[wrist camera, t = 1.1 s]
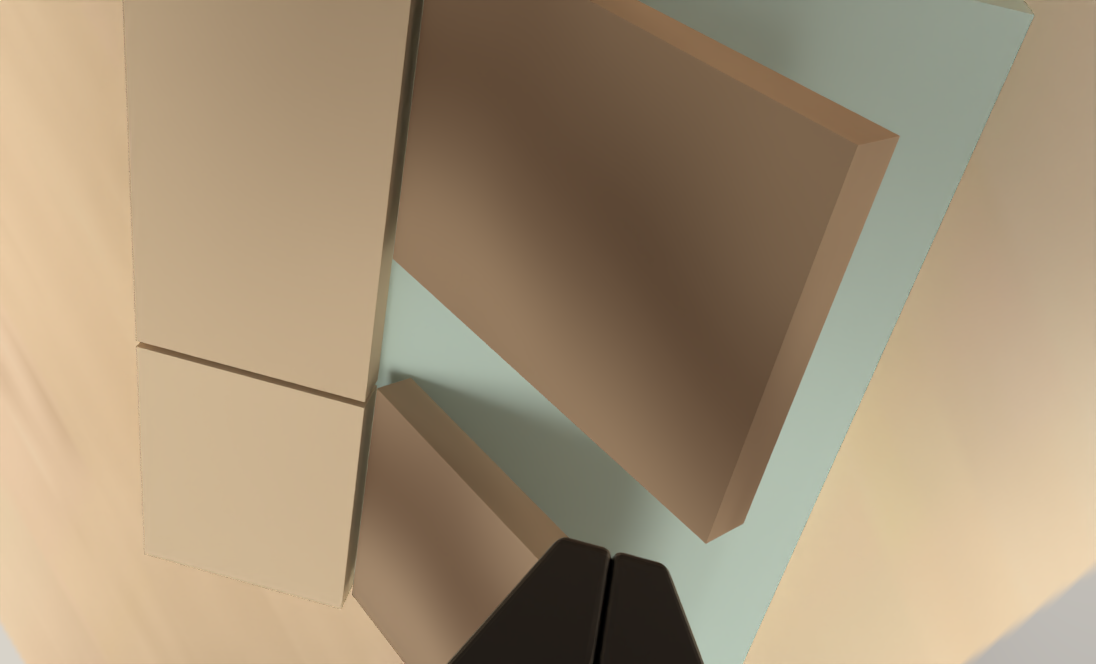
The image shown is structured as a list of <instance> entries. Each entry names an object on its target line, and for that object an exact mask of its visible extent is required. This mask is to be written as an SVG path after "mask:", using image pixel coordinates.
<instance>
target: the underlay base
mask: <svg viewBox="0 0 1096 664" xmlns="http://www.w3.org/2000/svg"><path fill="white" fill-rule="evenodd" d="M638 1H640V2H642V3H644V4H646V5H648V6H650V7H652V8H654V9H656V10H658V11H659V12H661V13H663V14H665V15H667V16H669V17H671V18H673V19H675V20H677V21H679V22H681V23H683V24H685V25H687V26H688V27H690V28H692V29H694V30H696V31H698V32H700V33H702V34H704V35H706V36H708V37H710V38H712V39H714V40H716V41H717V42H719V43H721V44H723V45H725V46H727V47H729V48H731V49H733V50H735V51H737V52H739V53H741V54H743V55H745V56H747V57H748V58H750V59H752V60H754V61H756V62H758V63H760V64H762V65H764V66H766V67H768V68H770V69H772V70H774V71H776V72H777V73H779V74H781V75H783V76H785V77H787V78H789V79H791V80H793V81H795V82H797V83H799V84H801V85H803V86H805V87H806V88H808V89H810V90H812V91H814V92H816V93H818V94H820V95H822V96H824V97H826V98H828V99H830V100H832V101H834V102H835V103H837V104H839V105H841V106H843V107H845V108H847V109H849V110H851V111H853V112H855V113H857V114H859V115H861V116H863V117H864V118H866V119H868V120H870V121H872V122H874V123H876V124H878V125H880V126H882V127H884V128H886V129H888V130H890V131H892V132H893V133H895V134H897V135H899V136H900V138H899V140H898V143H897V145H896V147H895V150H894V152H893V155H892V157H891V160H890V162H889V165H888V167H887V170H886V172H885V175H884V177H883V180H882V182H881V185H880V187H879V190H878V192H877V195H876V197H875V199H874V202H873V204H872V207H871V209H870V212H869V214H868V217H867V219H866V222H865V224H864V227H863V229H862V232H861V234H860V237H859V239H858V242H857V244H856V246H855V249H854V251H853V254H852V256H851V259H850V261H849V264H848V266H847V269H846V271H845V274H844V276H843V279H842V281H841V284H840V286H839V289H838V291H837V294H836V296H835V298H834V301H833V303H832V306H831V308H830V311H829V313H828V316H827V318H826V321H825V323H824V326H823V328H822V331H821V333H820V336H819V338H818V341H817V343H816V346H815V348H814V350H813V353H812V355H811V358H810V360H809V363H808V365H807V368H806V370H805V373H804V375H803V378H802V380H801V383H800V385H799V388H798V390H797V393H796V395H795V398H794V400H793V402H792V405H791V407H790V410H789V412H788V415H787V417H786V420H785V422H784V425H783V427H782V430H781V432H780V435H779V437H778V440H777V442H776V445H775V447H774V449H773V452H772V454H771V457H770V459H769V462H768V464H767V467H766V469H765V472H764V474H763V477H762V479H761V482H760V484H759V487H758V489H757V492H756V494H755V497H754V499H753V501H752V504H751V506H750V509H749V511H748V514H747V516H746V519H745V521H744V524H742V525H740V526H738V527H736V528H734V529H733V530H731V531H729V532H727V533H725V534H723V535H721V536H720V537H718V538H716V539H714V540H712V541H710V542H708V543H707V544H705V543H704V542H703V541H702V540H701V539H700V538H699V537H698V536H697V535H696V534H695V533H693V532H692V531H691V530H690V529H689V528H688V527H687V526H686V525H685V524H684V523H682V522H681V521H680V520H679V519H678V518H677V517H676V516H675V515H674V514H673V513H671V512H670V511H669V510H668V509H667V508H666V507H665V506H664V505H663V504H662V503H660V502H659V501H658V500H657V499H656V498H655V497H654V496H653V495H652V494H651V493H650V492H648V491H647V490H646V489H645V488H644V487H643V486H642V485H641V484H640V483H639V482H637V481H636V480H635V479H634V478H633V477H632V476H631V475H630V474H629V473H628V472H626V471H625V470H624V469H623V468H622V467H621V466H620V465H619V464H618V463H617V462H615V461H614V460H613V459H612V458H611V457H610V456H609V455H608V454H607V453H606V452H604V451H603V450H602V449H601V448H600V447H599V446H598V445H597V444H596V443H595V442H594V441H592V440H591V439H590V438H589V437H588V436H587V435H586V434H585V433H584V432H583V431H581V430H580V429H579V428H578V427H577V426H576V425H575V424H574V423H573V422H572V421H570V420H569V419H568V418H567V417H566V416H565V415H564V414H563V413H562V412H561V411H559V410H558V409H557V408H556V407H555V406H554V405H553V404H552V403H551V402H550V401H548V400H547V399H546V398H545V397H544V396H543V395H542V394H541V393H540V392H539V391H538V390H536V389H535V388H534V387H533V386H532V385H531V384H530V383H529V382H528V381H527V380H525V379H524V378H523V377H522V376H521V375H520V374H519V373H518V372H517V371H516V370H514V369H513V368H512V367H511V366H510V365H509V364H508V363H507V362H506V361H505V360H503V359H502V358H501V357H500V356H499V355H498V354H497V353H496V352H495V351H494V350H492V349H491V348H490V347H489V346H488V345H487V344H486V343H485V342H484V341H483V340H482V339H480V338H479V337H478V336H477V335H476V334H475V333H474V332H473V331H472V330H471V329H469V328H468V327H467V326H466V325H465V324H464V323H463V322H462V321H461V320H460V319H458V318H457V317H456V316H455V315H454V314H453V313H452V312H451V311H450V310H449V309H447V308H446V307H445V306H444V305H443V304H442V303H441V302H440V301H439V300H438V299H436V298H435V297H434V296H433V295H432V294H431V293H430V292H429V291H428V290H427V289H426V288H424V287H423V286H422V285H421V284H420V283H419V282H418V281H417V280H416V279H415V278H413V277H412V276H411V275H410V274H409V273H408V272H407V271H406V270H405V269H404V268H402V267H401V266H400V265H399V264H398V263H397V262H396V261H395V260H394V259H393V252H394V243H395V235H396V227H397V219H398V210H399V202H400V194H401V186H402V177H403V169H404V161H405V153H406V144H407V136H408V128H409V120H410V112H411V103H412V95H413V87H414V79H415V70H416V62H417V54H418V46H419V37H420V29H421V21H422V13H423V4H424V0H123V19H124V45H125V70H126V96H127V122H128V147H129V173H130V199H131V224H132V250H133V276H134V301H135V327H136V341H139V342H140V343H139V344H138V345H137V346H136V352H137V378H138V404H139V429H140V455H141V481H142V506H143V532H144V554H145V555H149V556H152V557H156V558H159V559H163V560H166V561H170V562H174V563H177V564H181V565H184V566H188V567H191V568H195V569H199V570H202V571H206V572H209V573H213V574H216V575H220V576H224V577H227V578H231V579H234V580H238V581H241V582H245V583H249V584H252V585H256V586H259V587H263V588H266V589H270V590H274V591H277V592H281V593H284V594H288V595H291V596H295V597H299V598H302V599H306V600H309V601H313V602H316V603H320V604H323V605H327V606H331V607H334V608H338V609H342V607H343V604H344V602H345V600H346V598H347V596H348V594H349V592H350V589H351V587H352V585H353V581H354V573H355V565H356V557H357V548H358V540H359V532H360V524H361V515H362V507H363V499H364V491H365V482H366V474H367V466H368V458H369V449H370V441H371V433H372V425H373V416H374V408H375V400H376V392H377V388H380V387H383V386H386V385H389V384H392V383H396V382H399V381H402V380H405V379H408V378H412V379H413V380H414V381H415V382H416V383H417V384H418V385H419V386H420V387H421V388H422V389H423V390H424V391H425V392H426V393H427V394H428V395H429V396H430V397H431V399H432V400H433V401H434V402H435V403H436V404H437V405H438V406H439V407H440V408H441V409H442V410H443V411H444V412H445V413H446V414H447V415H448V416H449V417H450V418H451V419H452V420H453V421H454V422H455V423H456V424H457V425H458V426H459V427H460V428H461V429H462V430H463V431H464V432H465V433H466V434H467V435H468V436H469V437H470V438H471V439H472V440H473V441H474V442H475V443H476V444H477V445H478V446H479V447H480V448H481V449H482V450H483V451H484V452H485V453H486V454H487V455H488V456H489V457H490V458H491V459H492V460H493V461H494V462H495V463H496V464H497V465H498V466H499V467H500V468H501V469H502V470H503V471H504V473H505V474H506V475H507V476H508V477H509V478H510V479H511V480H512V481H513V482H514V483H515V484H516V485H517V486H518V487H519V488H520V489H521V490H522V491H523V492H524V493H525V494H526V495H527V496H528V497H529V498H530V499H531V500H532V501H533V502H534V503H535V504H536V505H537V506H538V507H539V508H540V509H541V510H542V511H543V512H544V513H545V514H546V515H547V516H548V517H549V518H550V519H551V520H552V521H553V522H554V523H555V524H556V525H557V526H558V527H559V528H560V529H561V530H562V531H563V532H564V533H565V534H566V535H567V536H568V537H569V538H572V539H575V540H579V541H583V542H586V543H590V544H594V545H598V546H601V547H604V548H606V549H608V550H609V552H610V554H611V558H612V557H613V556H614V555H615V554H616V553H619V552H622V553H627V554H630V555H634V556H638V557H641V558H645V559H649V560H652V561H656V562H659V563H662V564H663V565H664V566H666V567H667V569H668V570H669V572H670V575H671V577H672V579H673V582H674V585H675V587H676V590H677V593H678V595H679V598H680V601H681V603H682V606H683V609H684V611H685V614H686V617H687V619H688V622H689V624H690V627H691V630H692V632H693V635H694V638H695V640H696V643H697V646H698V648H699V651H700V654H701V656H702V659H703V662H704V664H743V662H744V660H745V658H746V655H747V653H748V651H749V649H750V647H751V644H752V642H753V640H754V638H755V635H756V633H757V631H758V629H759V627H760V624H761V622H762V620H763V618H764V615H765V613H766V611H767V609H768V607H769V604H770V602H771V600H772V598H773V595H774V593H775V591H776V589H777V587H778V584H779V582H780V580H781V578H782V575H783V573H784V571H785V569H786V567H787V564H788V562H789V560H790V558H791V555H792V553H793V551H794V549H795V547H796V544H797V542H798V540H799V538H800V535H801V533H802V531H803V529H804V527H805V524H806V522H807V520H808V518H809V515H810V513H811V511H812V509H813V507H814V504H815V502H816V500H817V498H818V495H819V493H820V491H821V489H822V487H823V484H824V482H825V480H826V478H827V475H828V473H829V471H830V469H831V467H832V464H833V462H834V460H835V458H836V455H837V453H838V451H839V449H840V447H841V444H842V442H843V440H844V438H845V435H846V433H847V431H848V429H849V427H850V424H851V422H852V420H853V418H854V415H855V413H856V411H857V409H858V406H859V404H860V402H861V400H862V398H863V395H864V393H865V391H866V389H867V386H868V384H869V382H870V380H871V378H872V375H873V373H874V371H875V369H876V366H877V364H878V362H879V360H880V358H881V355H882V353H883V351H884V349H885V346H886V344H887V342H888V340H889V338H890V335H891V333H892V331H893V329H894V326H895V324H896V322H897V320H898V318H899V315H900V313H901V311H902V309H903V306H904V304H905V302H906V300H907V298H908V295H909V293H910V291H911V289H912V286H913V284H914V282H915V280H916V278H917V275H918V273H919V271H920V269H921V266H922V264H923V262H924V260H925V258H926V255H927V253H928V251H929V249H930V246H931V244H932V242H933V240H934V238H935V235H936V233H937V231H938V229H939V226H940V224H941V222H942V220H943V218H944V215H945V213H946V211H947V209H948V206H949V204H950V202H951V200H952V198H953V195H954V193H955V191H956V189H957V186H958V184H959V182H960V180H961V178H962V175H963V173H964V171H965V169H966V166H967V164H968V162H969V160H970V158H971V155H972V153H973V151H974V149H975V146H976V144H977V142H978V140H979V138H980V135H981V133H982V131H983V129H984V126H985V124H986V122H987V120H988V118H989V115H990V113H991V111H992V109H993V106H994V104H995V102H996V100H997V98H998V95H999V93H1000V91H1001V89H1002V86H1003V84H1004V82H1005V80H1006V78H1007V75H1008V73H1009V71H1010V69H1011V66H1012V64H1013V62H1014V60H1015V58H1016V55H1017V53H1018V51H1019V49H1020V46H1021V44H1022V42H1023V40H1024V37H1025V35H1026V33H1027V31H1028V29H1029V26H1030V24H1031V22H1032V20H1033V17H1034V14H1033V12H1032V11H1031V10H1030V8H1029V7H1028V6H1027V4H1026V3H1025V2H1024V1H1023V0H638Z"/></svg>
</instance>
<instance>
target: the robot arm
mask: <svg viewBox="0 0 1096 664" xmlns="http://www.w3.org/2000/svg"><path fill="white" fill-rule="evenodd" d="M447 664H704V662H703V659H702V656H701V654H700V651H699V648H698V646H697V643H696V640H695V638H694V635H693V632H692V630H691V627H690V624H689V622H688V619H687V617H686V614H685V611H684V609H683V606H682V603H681V601H680V598H679V595H678V593H677V590H676V587H675V585H674V582H673V579H672V577H671V575H670V572H669V570H668V569H667V567H666V566H664V565H663V564H662V563H659V562H656V561H652V560H649V559H645V558H641V557H638V556H634V555H630V554H627V553H622V552H619V553H616V554H615V555H614V556H613V557H612V558H611V554H610V552H609V550H608V549H606V548H604V547H601V546H598V545H594V544H590V543H586V542H583V541H579V540H575V539H572V538H568V537H563V538H560V539H558V540H557V541H556V542H554V543H553V544H552V546H551V547H550V548H549V549H548V550H547V551H546V552H545V553H544V555H543V556H542V557H541V558H540V559H539V560H538V561H537V562H536V564H535V565H534V566H533V567H532V568H531V569H530V570H529V571H528V573H527V574H526V575H525V576H524V577H523V578H522V579H521V580H520V582H519V583H518V584H517V585H516V586H515V587H514V588H513V589H512V591H511V592H510V593H509V594H508V595H507V596H506V597H505V598H504V600H503V601H502V602H501V603H500V604H499V605H498V606H497V607H496V609H495V610H494V611H493V612H492V613H491V614H490V615H489V616H488V618H487V619H486V620H485V621H484V622H483V623H482V624H481V625H480V627H479V628H478V629H477V630H476V631H475V632H474V633H473V634H472V636H471V637H470V638H469V639H468V640H467V641H466V642H465V643H464V645H463V646H462V647H461V648H460V649H459V650H458V651H457V652H456V654H455V655H454V656H453V657H452V658H451V659H450V660H449V661H448V663H447Z"/></svg>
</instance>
